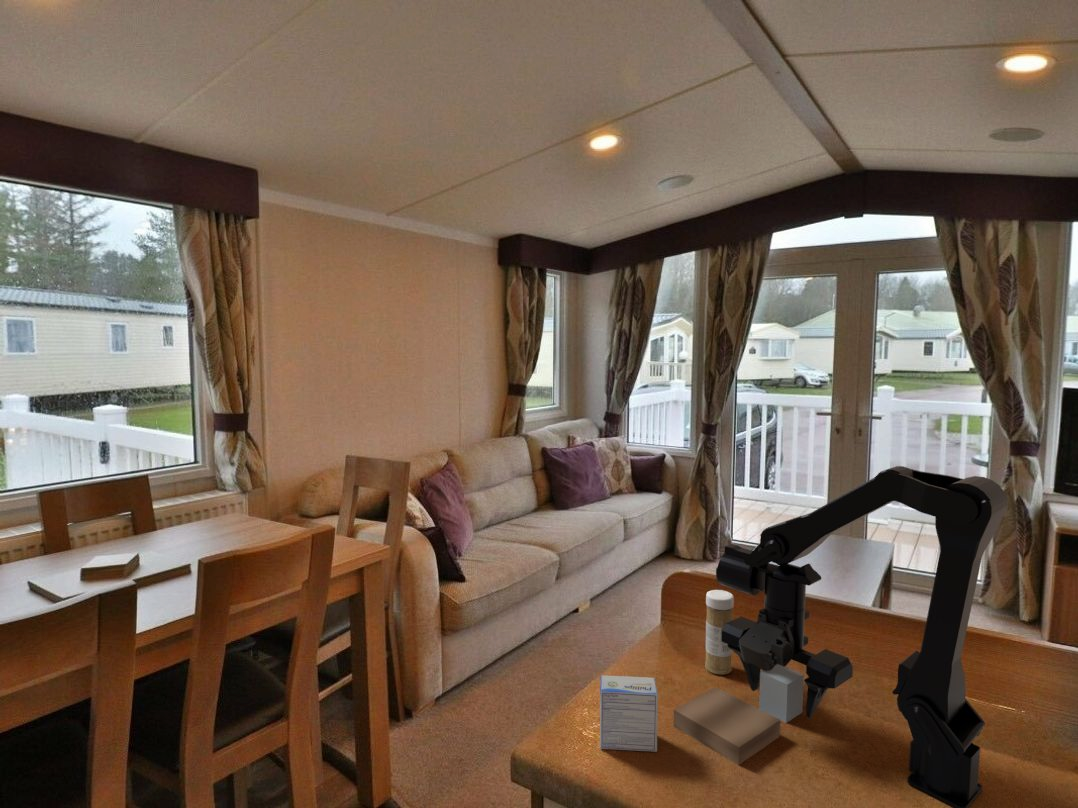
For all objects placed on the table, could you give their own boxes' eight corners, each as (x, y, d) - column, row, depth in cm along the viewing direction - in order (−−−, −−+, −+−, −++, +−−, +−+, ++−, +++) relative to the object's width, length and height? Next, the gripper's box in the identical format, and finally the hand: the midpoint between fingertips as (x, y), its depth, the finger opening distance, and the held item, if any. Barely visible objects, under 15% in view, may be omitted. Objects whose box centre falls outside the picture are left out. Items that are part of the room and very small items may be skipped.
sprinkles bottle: (723, 661, 111) (725, 587, 110) (736, 674, 107) (739, 597, 106) (699, 664, 110) (701, 590, 109) (712, 677, 106) (714, 600, 105)
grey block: (802, 712, 96) (803, 674, 95) (786, 723, 93) (787, 684, 92) (775, 699, 99) (776, 663, 99) (759, 709, 96) (760, 672, 96)
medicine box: (654, 734, 90) (655, 676, 90) (657, 754, 86) (658, 693, 85) (599, 730, 91) (600, 673, 90) (599, 750, 87) (600, 690, 86)
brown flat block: (779, 739, 90) (780, 719, 89) (738, 768, 84) (738, 747, 83) (715, 705, 98) (715, 687, 98) (673, 729, 92) (673, 709, 92)
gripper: (700, 597, 97) (697, 694, 98) (816, 642, 82) (811, 755, 84) (742, 581, 104) (740, 671, 105) (856, 620, 89) (852, 724, 90)
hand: (780, 702), depth 96 cm, fingers open, 9 cm apart
